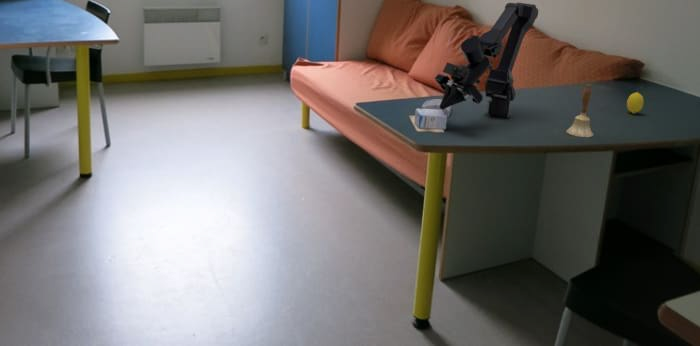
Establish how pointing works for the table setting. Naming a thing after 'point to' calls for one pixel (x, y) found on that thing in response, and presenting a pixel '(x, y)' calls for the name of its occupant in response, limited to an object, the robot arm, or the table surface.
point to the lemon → (635, 102)
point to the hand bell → (582, 118)
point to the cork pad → (423, 128)
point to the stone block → (436, 106)
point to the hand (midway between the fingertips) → (440, 108)
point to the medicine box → (430, 118)
